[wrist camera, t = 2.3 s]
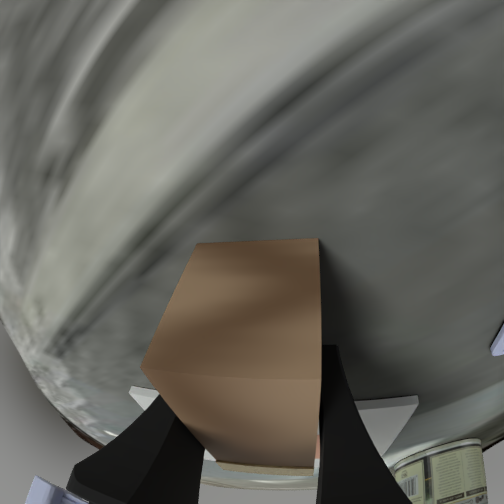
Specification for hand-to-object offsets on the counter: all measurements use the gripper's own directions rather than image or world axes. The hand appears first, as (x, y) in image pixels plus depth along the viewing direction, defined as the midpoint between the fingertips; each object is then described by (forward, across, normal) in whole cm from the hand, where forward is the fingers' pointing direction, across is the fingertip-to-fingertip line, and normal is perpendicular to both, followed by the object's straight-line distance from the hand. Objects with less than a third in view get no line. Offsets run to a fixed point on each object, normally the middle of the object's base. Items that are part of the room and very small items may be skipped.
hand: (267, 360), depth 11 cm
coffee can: (+2, -16, +24) cm, 28 cm away
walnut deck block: (+1, 0, 0) cm, 1 cm away
